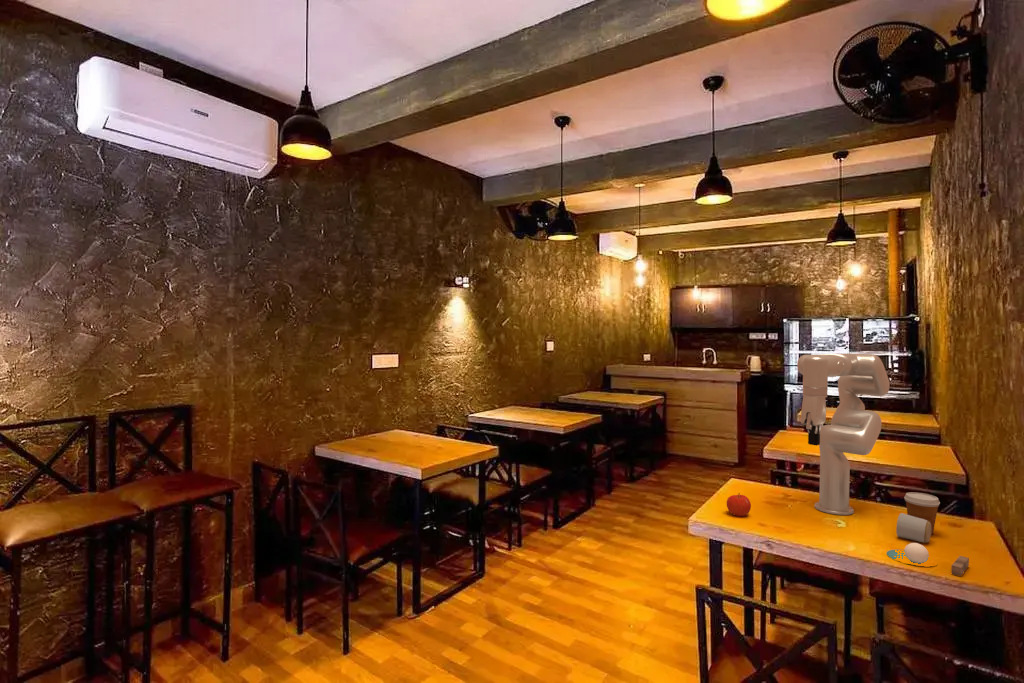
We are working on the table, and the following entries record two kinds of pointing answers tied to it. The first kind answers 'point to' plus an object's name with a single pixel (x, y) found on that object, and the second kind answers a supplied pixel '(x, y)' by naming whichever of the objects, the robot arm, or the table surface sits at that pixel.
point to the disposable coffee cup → (922, 507)
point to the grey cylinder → (913, 528)
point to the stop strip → (960, 565)
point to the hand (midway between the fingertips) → (813, 444)
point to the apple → (738, 505)
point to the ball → (916, 553)
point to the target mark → (894, 554)
